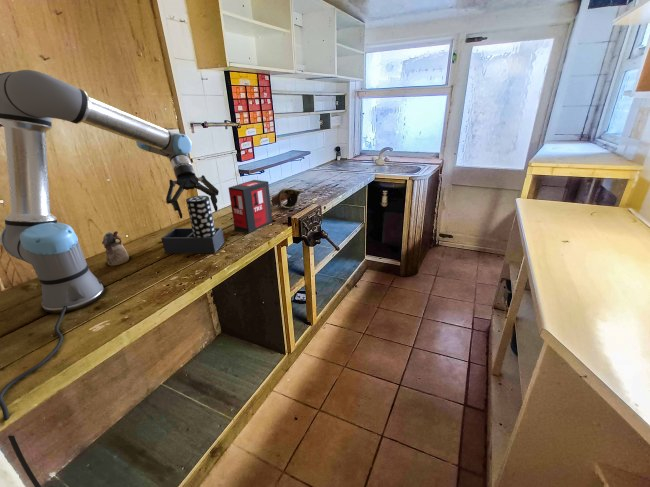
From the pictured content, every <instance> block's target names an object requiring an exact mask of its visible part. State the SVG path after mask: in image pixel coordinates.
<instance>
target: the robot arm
mask: <svg viewBox="0 0 650 487" xmlns="http://www.w3.org/2000/svg"><path fill="white" fill-rule="evenodd" d="M52 119H57V120H62V121H66V122H70V123H72V124H76V125H77V124H78V125H79V124H81V123H83V124H86V125H89V126H92V127H95V128H97V129H100V130H103V131H105V132H108V133H112V134H115V135H118V136H120V137H124V138H126V139H129V140H132V141H134V142H135V143H136V146H137V148H139V149H141V150H142V151H143V150H144V151H145V152H149V153H153V154H156V155H159V156H162V157H166V158H168V160H169V162H170V165H171V167H172V170H173V174H174V176H175V179H176V180H173V179H169V186H168V191H167V194H166V197H165V202H166V204H167V205H169V204H171V206H172V208H173V210H174V211H175V212H176V211H177V213H178V216H179V218H180V219H183V213H182V210H181V206H180V204H179V202H178V199H179V198H180V196H181V195H182V193H183V192H184V191H185V190H186V191H189V190H194V189H196V190H198V191H200V192H202V193H204V194H206V195H207V196H208V197H209V200H210V202H211V204H212V206H213V209H214V211H215V212H218V209H219V206H218V205H217V203H218V198H217V196H219V194H220V193H219V192H220V191H219V189H218V188H216V187H215V186H214V185H213V184H212V183H211V182H210V181H209V180H207V178H206V176H205V175H203V174H202V175H201V176H200V177H199V176H198V177H197V175H196V173H195V170H194V168H193V164H192V162H191V159H190V157H189V155H188V154H190V152H191V151H192V149H193V143H192V140H191V139H190V137H189V136H188V135H186V134H183V133H176V132H173V131H171V130H168V129H165V128H164V127H161V126H158V125H156V124H154V123H151V122H149V121H147V120H145V119H142V118H140V117H137V116H135V115H132V114H131V113H128V112H126V111H123V110H121V109H119V108H116V107H114V106H112V105H110V104H107V103H104V102H102V101H100V100H98V99H95V98H92V97H90V96H89V95H88V93H87V92H86V91H85V90H83V89H81V88H78V87H76V86H75V85H71V84H69V83H67V82H66V81H63V80H61V79H59V78H56V77H53V76H51V75H49V74H47V73H44V72H41V71H37V70H32V69H20V70H16V71H5V72H1V73H0V125H1V126H2V127H3V130H4V140H5V142H4V143H5V152H6V166H7V176H8V187H9V199H10V210H11V211H10V213H9V214H7V215H6V216H5V217H4V226H5V227H4V229H3V230H2V231H1V234H0V244H1V246H2V248H3V249H4V250H5V251H6V252H7V254H8V255H10V256H11V257H12V258H13V257H14V258H15V259H16V260H21V261H22V262H25V263H27V264H30V265H31V266H32V268H33V270H34V273H35V275H36V276H37V278H38V281H39V282H40V286H41V287H40V288H41V307H42V308H43V310H44V312H46V313H49V314H59V317H58V319H57V321H56V323H55V326H54V332H55V334H56V335H57V336H58V342H57V344H56V346H55V347H54V348H53V349H52V351H51V352H49V353H48V354H47V355H46V356H45V358H43V359H42V360H41V361H40V362H38V363H37V364H36V365H34V366H33V367H31V368H29V369H28V370H26V371H24V372H23V373H21V374H19V375H18V376H16V377H15V378H14V379H12V380H11V381H9V382H8V383H7V384H6V385H5V386H4V387H2V389H1V391H0V409H1V412H2V416H3V421H4V422H6V421H8V420H9V419H10V413H9V409H8V406H7V404H6V402H5V400H4V395H5V393H6V392H7V391H8V390H9V388H10V387H12V386H13V385H14V384H15V383H17V382H18V381H20V380H21V379H23V378H24V377H26V376H27V375H29V374H31V373H33V372H34V371H36V370H37V369H39V368H41V366H43V365H44V364H45V363H46V362H47V361H48V360H49V359H51V358H52V357H53V355H55V353H57V351H58V350H59V349H60V347H61V345H62V343H63V341H64V336H63V334H62V333H61V331H60V329H59V327H60V325H61V321H62V320H63V317H64V315H65V313H68V312H69V313H70V312H72V311H76V310H80V309H82V308H84V307H87V306H88V305H91V304H92V303H94V302H96V301H97V300H98V299H100V298H101V297H102V296H103V294H105V287H104V283H103V281H102V280H101V279H98V278H97V277H96V276H95V275H94V273H93V272H92V271H91V270H90V268H89V265H88V263H87V261H86V258H85V255H84V252H83V249H82V247H81V245H80V242H79V238H78V235H77V234H76V232H75V230H74V228H73V227H72V226H71V225H69V224H66V223H64V222H58V218H57V216H55V215H54V214H52V212H51V205H50V204H51V202H50V187H49V186H50V184H49V171H48V170H49V168H48V154H47V153H48V152H47V136H46V133H47V132H49V131H50V130H52V128H53V125H52V122H53V121H52ZM201 183H202V184H201ZM176 185H177V186H178V188H177V190H176V191H175V193H174V192H173V191H174V187H176ZM173 193H174V195H173ZM172 195H173V196H172ZM7 437H8V440H9V443H10V445H11V447H12V450H13V451H14V454H15V455H16V457H17V459H18V461H19V463H20V465H21V467H22V468H23V470H24V472H25V474H26V475H27V477H28V479H29V480H30V482H31V483H32V485H33V486H34V487H42V486H41V484H40V482H39V481H38V479H37V477H36V476H35V475H34V473H33V471H32V470H31V468H30V466H29V464H28V463H27V461H26V460H27V459H25V456H24V455H23V453H22V451H21V449H20V447H19V444H18V441H17V440H16V437H15V435H7Z"/></svg>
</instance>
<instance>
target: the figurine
mask: <svg viewBox="0 0 650 487" xmlns="http://www.w3.org/2000/svg"><path fill="white" fill-rule="evenodd" d="M118 233H119V232H118V231H117V230H115V231H114V232H113V233H112V232H111V231H107V232H106V233H104V235H103V237H102V239H103V240H102V242H101V244H102V245H103V247H104V249H105V253H106V262H107V265H109V266H110V267H111V266H112V267H113V266H119V265H122V264H125V263H127V262H128V261H129V260H130V256H129V253H128V251H127V250H126V247H125V245H123V244H122V242H123V241H122V238H121V237H120V235H118Z"/></svg>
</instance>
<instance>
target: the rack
mask: <svg viewBox="0 0 650 487" xmlns="http://www.w3.org/2000/svg"><path fill="white" fill-rule="evenodd" d="M215 232H216V233H215V234H214V235H213V236H212V237H194V234H193V230H192V227H184V228H183V227H175V228H173V229H171V230H170V231H168V232H167V233H166V234H165V235H163V236H162V237H161V238H160V239H161V242H162V247H163V250H164V254H216V253H217V252H218V251H219V249H220V248H221V247H222V246H223V245H224V244H225V237H224V232H223V228H222V227H215Z"/></svg>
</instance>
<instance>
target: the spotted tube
mask: <svg viewBox="0 0 650 487" xmlns="http://www.w3.org/2000/svg"><path fill="white" fill-rule="evenodd" d="M185 201H186V206H187V207H186V208H187V211H188V215H189V220H190V224H191V228H192V230H193V234H194V237H212V236H213V235H214V234H215V233H216V232H215V228H216V227H215V223H214V222H215V221H214V217H213V211H212V206H211V199H210V196H209V195H195V196H191V197H187V198H186V200H185Z"/></svg>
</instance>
